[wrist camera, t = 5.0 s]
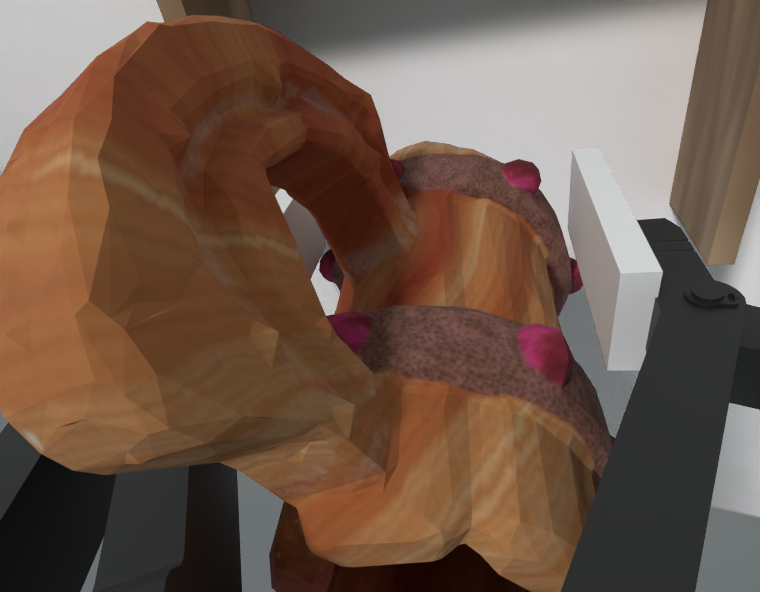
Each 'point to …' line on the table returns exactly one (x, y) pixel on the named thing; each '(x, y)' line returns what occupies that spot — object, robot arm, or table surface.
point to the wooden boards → (701, 129)
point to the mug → (298, 315)
